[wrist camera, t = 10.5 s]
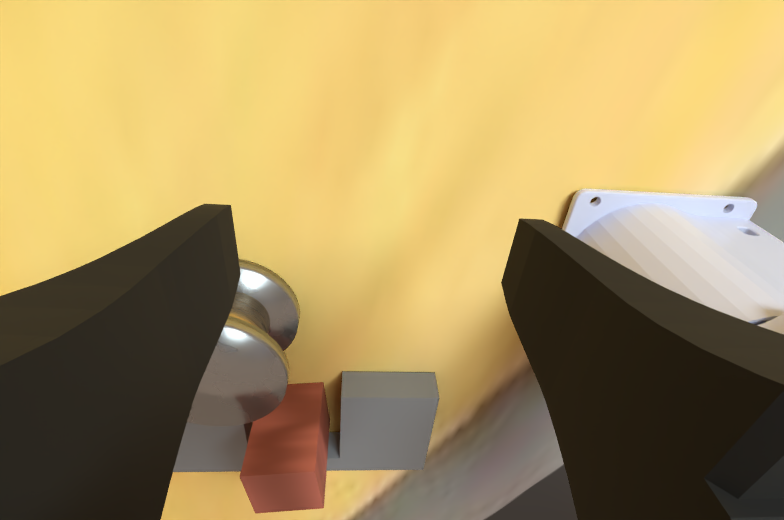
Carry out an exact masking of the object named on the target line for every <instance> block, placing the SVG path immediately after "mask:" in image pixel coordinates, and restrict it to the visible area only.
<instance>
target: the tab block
mask: <svg viewBox="0 0 784 520" xmlns="http://www.w3.org/2000/svg"><path fill="white" fill-rule="evenodd" d="M329 428H330V416H329V411H328V405H327V400H326V394H325V389H324V383H323V382H319V383H304V384H288V385H287V388H286V393H285V396H284V398H283V400H282V401H281V403H280V404H279V405H278V406H277V408H276V409H275V410H273V411H272V412H271V413H269V414H268V415H266V416H264V417H263V418H260V419H258V420H256V421H253V424H252V428H251V432H250V436H249V440H248V444H247V449H246V453H245V457H244V461H243V465H242V469H241V473H240V479H241V481H242V483H243V486H244V488H245V490H246V493H247V495H248V497H249V500H250V502H251V504H252V506H253V509H254V511H255V513H266V512H279V511H292V510H306V509H319V508H324V497H325V483H326V469H327V456H328V442H329Z"/></svg>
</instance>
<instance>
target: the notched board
mask: <svg viewBox="0 0 784 520" xmlns="http://www.w3.org/2000/svg"><path fill="white" fill-rule="evenodd" d="M438 401H439V394H438V388H437V383H436V377H435V373H429V372H344V371H342V390H341V423H340V432H329V442H328V456H327V469H326V471H328V470H423V468H424V464H425V459H426V455H427V451H428V446H429V442H430V437H431V433H432V428H433V424H434V419H435V415H436V410H437V406H438ZM252 424H253V422H250V423H246V424H241V425H235V426H206V425H199V424H194V423H190V422H187V424H186V427H185V430H184V434H183V437H182V440H181V444H180V448H179V451H178V455H177V458H176V462H175V466H174V469H173V472H225V471H241V469H242V465H243V461H244V457H245V453H246V449H247V444H248V440H249V436H250V432H251V428H252Z"/></svg>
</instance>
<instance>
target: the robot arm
mask: <svg viewBox="0 0 784 520" xmlns="http://www.w3.org/2000/svg"><path fill="white" fill-rule="evenodd" d="M594 197H597V199H596V201H594V202H593V203H590V201H591V200H592V199H593V198H594ZM727 205H728V206H727ZM725 206H727V207H726V208H724V207H725ZM756 207H757V203H756V201H754V200H753V199H751V198H748V197H732V196H713V195H695V194H677V193H658V192H640V191H622V190H603V189H581V190H579V191H578V192H577V193H575V195H574V197H573V199H572V202H571V204H570V207H569V210H568V213H567V216H566V219H565V221H564V224H563V227H562V229H560V228H559V227H557V226H555V225H553V224H551V223H549V222H547V221H544V220H537V219H519V222H518V226H517V229H516V233H515V236H514V240H513V243H512V247H511V250H510V254H509V257H508V261H507V264H506V268H505V271H504V275H503V279H502V282H501V283H502V287H503V291H504V296H505V300H506V304H507V307H508V311H509V314H510V317H511V319H512V322H513V324H514V327H515V329H516V331H517V334H518V336H519V338H520V341H521V343H522V345H523V348H524V350H525V352H526V355H527V357H528V359H529V362H530V364H531V366H532V368H533V371H534V373H535V375H536V378H537V380H538V382H539V385H540V387H541V390H542V392H543V395H544V398H545V400H546V403H547V407H548V410H549V413H550V416H551V420H552V423H553V426H554V430H555V433H556V436H557V440H558V443H559V447H560V451H561V454H562V458H563V462H564V465H565V469H566V472H567V476H568V480H569V484H570V488H571V493H572V497H573V500H574V505H575V509H576V514H577V518H578V520H784V242H782V241H781V240H779V239H778V238H776V237H774V236H773V235H771V234H770V233H768V232H767V231H765V230H764V229H762V228H760V227H759V226H757V225H756V224H754V223H753V222H751V221H750V220H749V219H750V218H751V216H752V214H753V213H754V211H755V210H756ZM240 275H241V272H240V266H239V259H238V252H237V245H236V238H235V231H234V224H233V217H232V210H231V205H217V204H203V205H201V206H198V207H196V208H194V209H192V210H190V211H188V212H186V213H184V214H183V215H181V216H179V217H177V218H175V219H174V220H172V221H170V222H168V223H166V224H165V225H163V226H161V227H159V228H157V229H156V230H154V231H152V232H150V233H148V234H146V235H145V236H143V237H141V238H139V239H137V240H135V241H133V242H131V243H129V244H127V245H125V246H123V247H121V248H119V249H117V250H115V251H113V252H111V253H109V254H107V255H105V256H103V257H101V258H99V259H97V260H95V261H92V262H90V263H88V264H86V265H83V266H81V267H79V268H76V269H74V270H71V271H69V272H66V273H64V274H61V275H59V276H56V277H54V278H51V279H49V280H46V281H44V282H41V283H38V284H35V285H32V286H29V287H26V288H23V289H20V290H17V291H14V292H11V293H8V294H5V295H2V296H0V520H161V516H162V512H163V508H164V504H165V500H166V496H167V492H168V488H169V484H170V480H171V476H172V473H173V469H174V466H175V462H176V458H177V455H178V451H179V448H180V444H181V440H182V437H183V434H184V430H185V427H186V424H187V420H188V417H189V414H190V410H191V407H192V404H193V401H194V398H195V395H196V392H197V390H198V387H199V384H200V382H201V379H202V377H203V375H204V372H205V370H206V368H207V365H208V363H209V361H210V358H211V356H212V354H213V352H214V349H215V347H216V345H217V342H218V340H219V338H220V335H221V333H222V331H223V328H224V326H225V323H226V321H227V319H228V316H229V314H230V311H231V309H232V306H233V303H234V299H235V295H236V291H237V287H238V283H239V279H240Z"/></svg>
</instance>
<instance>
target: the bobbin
mask: <svg viewBox="0 0 784 520" xmlns="http://www.w3.org/2000/svg"><path fill="white" fill-rule="evenodd" d="M239 266H240V272H241V275H240V279H239V283H238V287H237V291H236V295H235V299H234V303H233V306H232V309H231V311H230V314H229V316H228V319H227V321H226V323H225V326H224V328H223V331H222V333H221V335H220V338H219V340H218V342H217V345H216V347H215V349H214V352H213V354H212V356H211V358H210V361H209V363H208V365H207V368H206V370H205V372H204V375H203V377H202V379H201V382H200V384H199V387H198V390H197V392H196V395H195V398H194V401H193V404H192V407H191V410H190V414H189V417H188V420H187V422H190V423H194V424H199V425H206V426H235V425H241V424H246V423H250V422H253V421H256V420H258V419H260V418H263V417H264V416H266V415H268V414H269V413H271V412H272V411H273V410H275V409H276V408H277V406H278V405H279V404H280V403H281V401H282V400H283V398H284V396H285V393H286V388H287V383H288V377H289V365H288V360H287V358H286V355H285V353H284V352H283V351H284V350H285V349H286V348H287V347H288V346H289V345H290V344H291V343H292V341H293V339H294V338H295V335H296V333H297V328H298V323H299V318H300V309H299V304H298V301H297V298H296V296H295V294H294V292H293V291H292V289H291V288H290V286H289V285H288V284H287V283H286V282H285V281H284V280H283V279H282V278H281V277H279V276H278V275H277V274H275V273H274V272H272V271H271V270H269V269H267V268H265V267H263V266H261V265H258V264H256V263H253V262H249V261H246V260H240V259H239Z"/></svg>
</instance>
